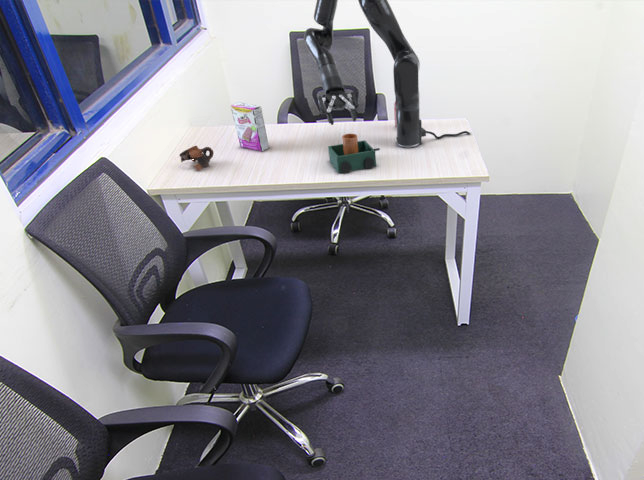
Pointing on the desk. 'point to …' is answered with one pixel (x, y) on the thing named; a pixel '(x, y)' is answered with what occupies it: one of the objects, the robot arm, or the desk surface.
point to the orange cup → (350, 144)
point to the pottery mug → (197, 156)
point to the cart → (351, 156)
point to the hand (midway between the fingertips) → (343, 122)
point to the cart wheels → (368, 164)
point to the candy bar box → (250, 126)
